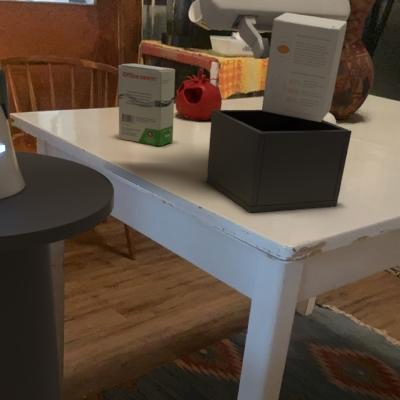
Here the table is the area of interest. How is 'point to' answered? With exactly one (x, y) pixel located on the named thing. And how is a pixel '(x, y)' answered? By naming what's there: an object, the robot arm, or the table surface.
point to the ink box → (146, 103)
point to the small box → (303, 66)
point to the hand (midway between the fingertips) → (290, 56)
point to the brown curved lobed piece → (353, 65)
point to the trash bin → (276, 160)
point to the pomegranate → (198, 98)
